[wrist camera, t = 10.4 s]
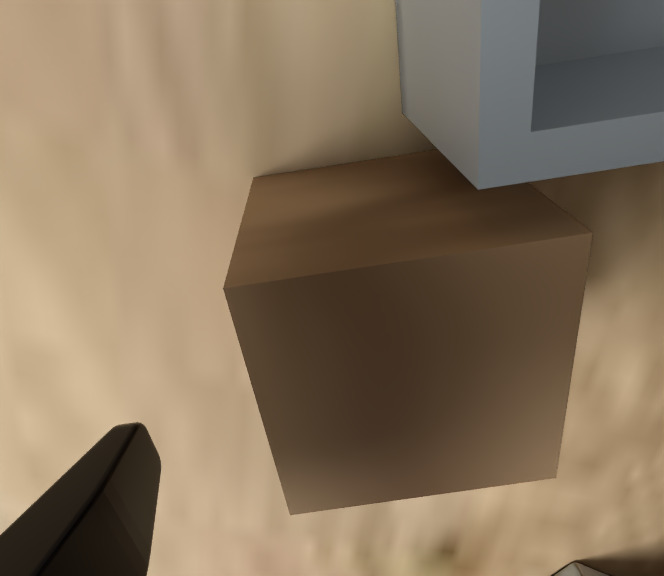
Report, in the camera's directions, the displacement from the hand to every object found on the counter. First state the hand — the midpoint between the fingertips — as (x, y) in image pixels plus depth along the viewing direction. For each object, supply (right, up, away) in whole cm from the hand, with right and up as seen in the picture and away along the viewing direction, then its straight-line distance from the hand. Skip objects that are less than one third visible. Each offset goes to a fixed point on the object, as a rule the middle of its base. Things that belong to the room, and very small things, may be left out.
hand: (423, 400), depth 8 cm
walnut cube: (0, +3, +4) cm, 5 cm away
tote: (+6, +16, -3) cm, 17 cm away
